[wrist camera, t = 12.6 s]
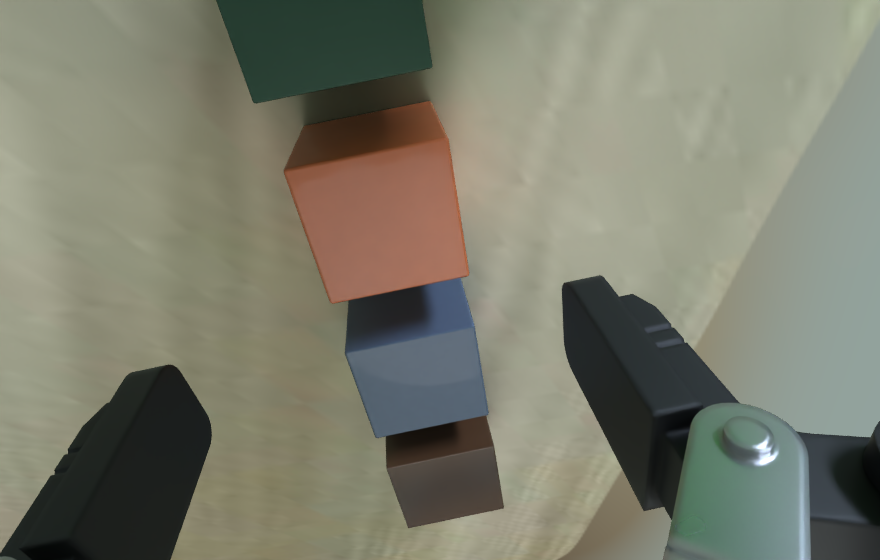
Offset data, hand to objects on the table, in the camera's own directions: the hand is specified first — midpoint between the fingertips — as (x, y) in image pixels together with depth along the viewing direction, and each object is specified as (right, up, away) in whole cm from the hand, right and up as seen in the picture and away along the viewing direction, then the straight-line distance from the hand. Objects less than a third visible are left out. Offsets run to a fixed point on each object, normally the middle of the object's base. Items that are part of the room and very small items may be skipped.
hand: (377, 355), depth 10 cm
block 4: (+1, -5, +15) cm, 16 cm away
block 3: (0, 0, +12) cm, 12 cm away
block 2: (-1, +6, +8) cm, 10 cm away
